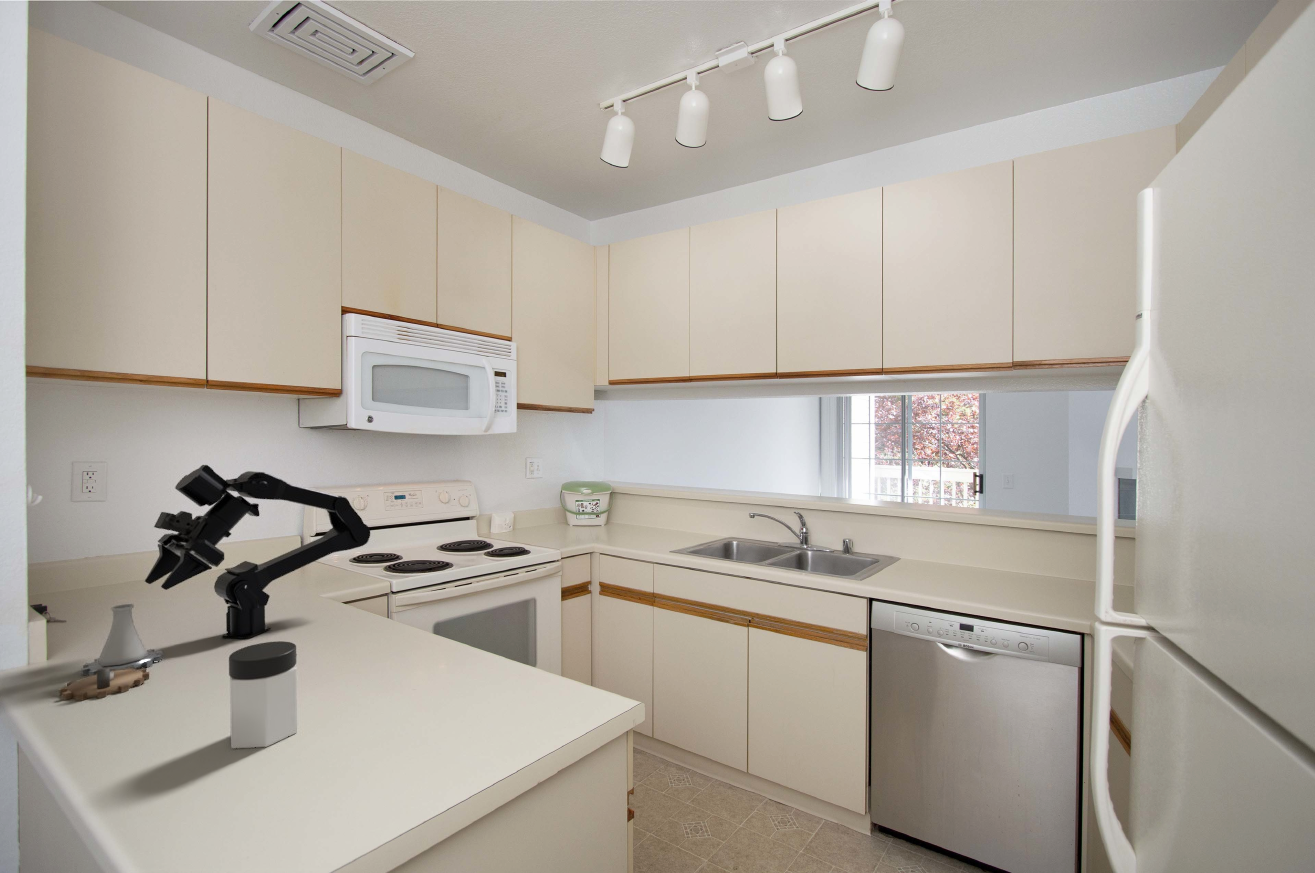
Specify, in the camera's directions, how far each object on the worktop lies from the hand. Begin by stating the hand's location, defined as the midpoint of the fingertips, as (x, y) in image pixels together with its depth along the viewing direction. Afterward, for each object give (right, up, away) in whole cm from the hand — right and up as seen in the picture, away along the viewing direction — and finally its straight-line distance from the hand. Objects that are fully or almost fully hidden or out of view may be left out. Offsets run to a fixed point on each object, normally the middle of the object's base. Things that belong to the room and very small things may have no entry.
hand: (154, 585), depth 119 cm
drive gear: (+3, -14, -14) cm, 20 cm away
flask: (-2, -13, -4) cm, 14 cm away
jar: (+41, -14, -31) cm, 53 cm away
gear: (-2, -14, -4) cm, 15 cm away
